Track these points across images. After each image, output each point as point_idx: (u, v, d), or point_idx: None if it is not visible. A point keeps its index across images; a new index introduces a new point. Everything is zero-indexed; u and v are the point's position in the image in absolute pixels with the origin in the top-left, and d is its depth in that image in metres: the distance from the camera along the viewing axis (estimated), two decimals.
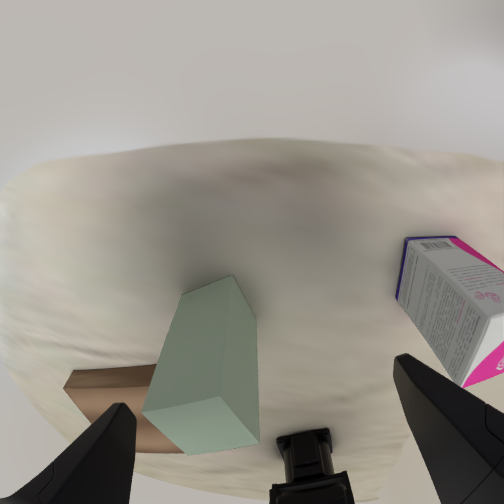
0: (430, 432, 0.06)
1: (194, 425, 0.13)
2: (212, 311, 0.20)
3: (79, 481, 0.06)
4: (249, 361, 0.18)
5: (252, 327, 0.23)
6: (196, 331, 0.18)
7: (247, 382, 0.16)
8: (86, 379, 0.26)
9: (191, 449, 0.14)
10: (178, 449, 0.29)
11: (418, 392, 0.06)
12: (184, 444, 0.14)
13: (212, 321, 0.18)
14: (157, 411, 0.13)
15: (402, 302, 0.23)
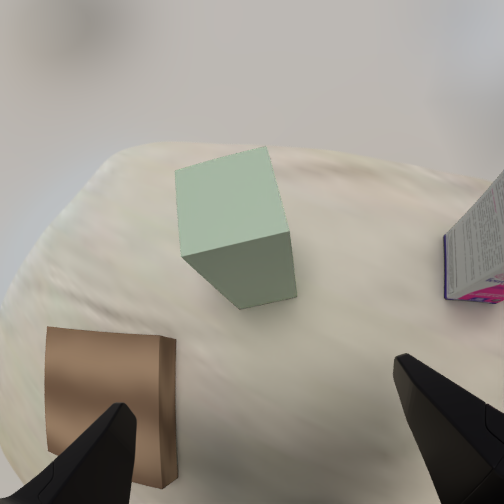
0: (430, 432, 0.06)
1: (222, 187, 0.13)
2: None
3: (79, 481, 0.06)
4: None
5: None
6: None
7: None
8: None
9: (193, 238, 0.13)
10: None
11: (418, 392, 0.06)
12: (190, 227, 0.13)
13: None
14: (193, 167, 0.14)
15: (452, 289, 0.20)
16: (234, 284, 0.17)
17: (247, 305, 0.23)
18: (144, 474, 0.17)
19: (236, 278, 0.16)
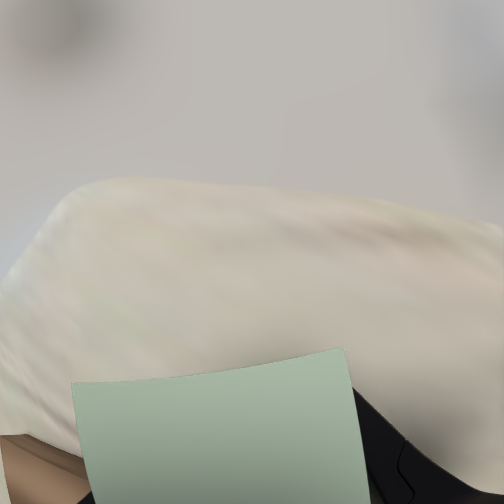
0: None
1: (200, 484, 0.03)
2: None
3: None
4: None
5: None
6: None
7: None
8: (34, 447, 0.13)
9: None
10: None
11: None
12: None
13: None
14: (114, 390, 0.04)
15: None
16: None
17: None
18: None
19: None
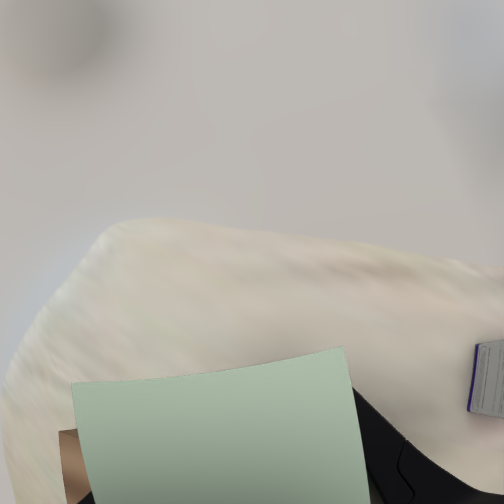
0: None
1: (200, 484, 0.03)
2: None
3: None
4: None
5: None
6: None
7: None
8: None
9: None
10: None
11: None
12: None
13: None
14: (114, 389, 0.04)
15: (476, 407, 0.16)
16: None
17: None
18: None
19: None
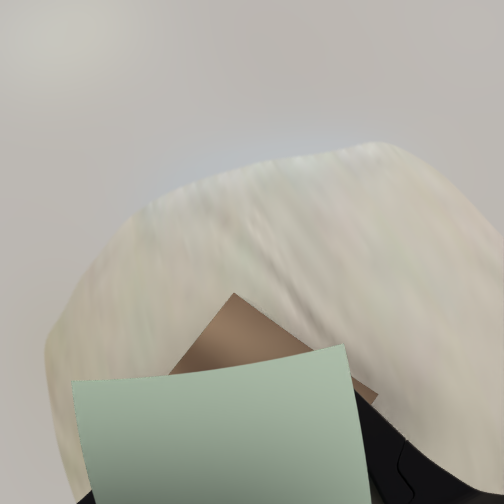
0: None
1: (200, 482, 0.03)
2: None
3: None
4: None
5: None
6: None
7: None
8: None
9: None
10: None
11: None
12: None
13: None
14: (114, 387, 0.04)
15: None
16: None
17: None
18: None
19: None
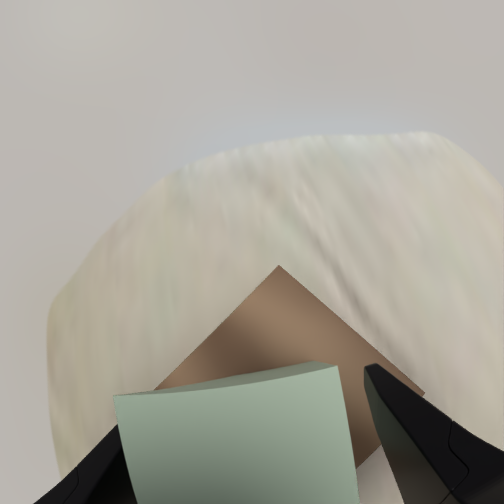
0: (395, 445, 0.06)
1: (226, 472, 0.05)
2: (288, 367, 0.12)
3: (106, 486, 0.05)
4: None
5: None
6: (262, 373, 0.11)
7: None
8: None
9: None
10: None
11: (383, 404, 0.06)
12: None
13: (291, 367, 0.11)
14: (153, 400, 0.05)
15: None
16: None
17: None
18: None
19: None
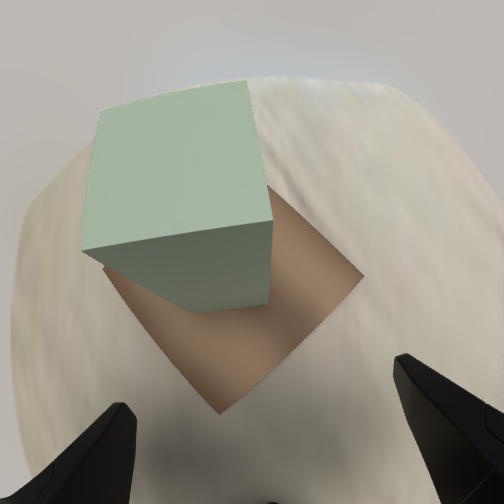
0: (430, 432, 0.06)
1: (164, 137, 0.07)
2: None
3: (79, 481, 0.06)
4: None
5: None
6: None
7: None
8: None
9: (104, 220, 0.07)
10: (198, 370, 0.17)
11: (418, 392, 0.06)
12: (101, 201, 0.07)
13: None
14: (128, 106, 0.08)
15: None
16: (179, 289, 0.11)
17: (202, 310, 0.17)
18: (215, 387, 0.16)
19: (181, 283, 0.11)
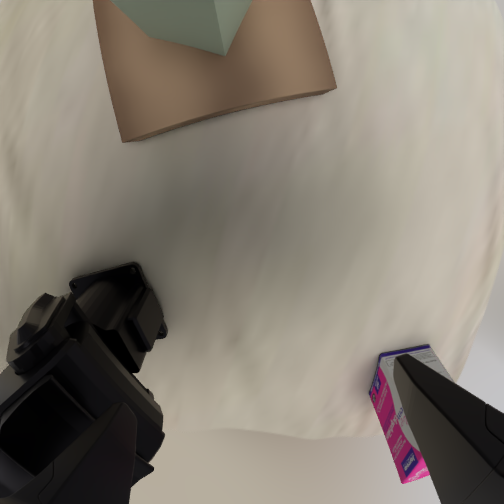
0: (430, 432, 0.06)
1: None
2: None
3: (79, 481, 0.06)
4: None
5: (229, 31, 0.11)
6: None
7: None
8: None
9: None
10: (125, 91, 0.14)
11: (418, 392, 0.06)
12: None
13: None
14: None
15: (390, 363, 0.24)
16: None
17: (157, 35, 0.12)
18: (132, 113, 0.14)
19: None
